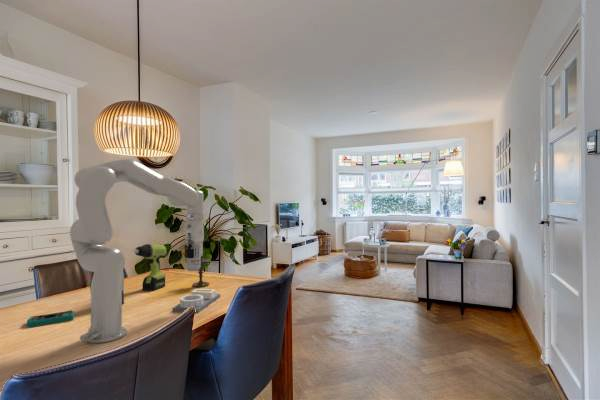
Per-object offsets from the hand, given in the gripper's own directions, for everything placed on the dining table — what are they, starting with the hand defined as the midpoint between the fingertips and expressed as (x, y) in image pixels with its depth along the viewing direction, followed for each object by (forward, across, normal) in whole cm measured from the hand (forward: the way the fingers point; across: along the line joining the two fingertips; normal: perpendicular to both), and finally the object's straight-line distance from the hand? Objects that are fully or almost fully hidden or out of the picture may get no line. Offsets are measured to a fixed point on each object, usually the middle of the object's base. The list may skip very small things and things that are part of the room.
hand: (193, 256), depth 150 cm
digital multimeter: (+24, -25, +47) cm, 59 cm away
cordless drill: (+23, +23, +36) cm, 49 cm away
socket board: (+23, +4, 0) cm, 23 cm away
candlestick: (+22, +37, +13) cm, 45 cm away
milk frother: (+23, -5, +36) cm, 43 cm away
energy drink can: (+6, 0, 0) cm, 6 cm away
